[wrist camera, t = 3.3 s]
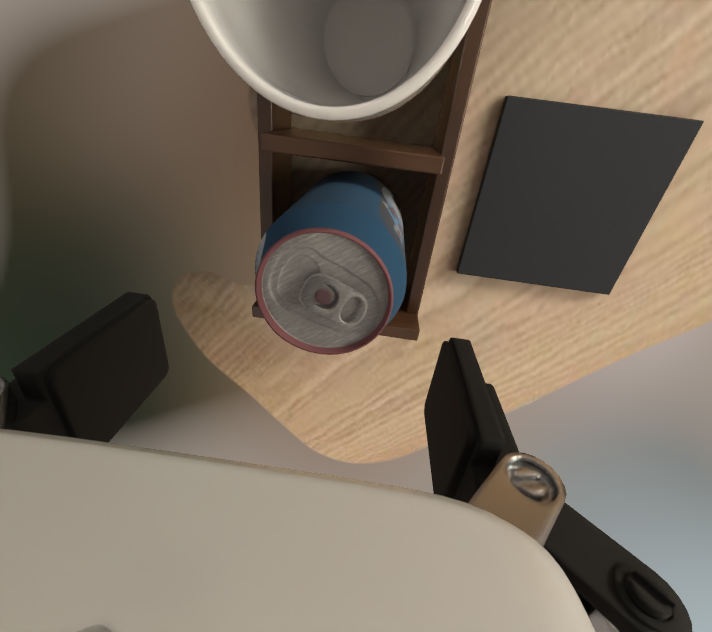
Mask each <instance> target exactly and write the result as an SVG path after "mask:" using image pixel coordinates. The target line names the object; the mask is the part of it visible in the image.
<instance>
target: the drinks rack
mask: <svg viewBox="0 0 712 632" xmlns="http://www.w3.org/2000/svg"><path fill="white" fill-rule="evenodd" d="M491 2H492V0H482V1H481V3H480V6H479V8H478V10H477V13H476V15H475V16H474V18H473V20H472V22H471V24H470V26H469V28H468V30H467V32H466V33H465V35H464V36H463V38H462V40H461V41H460V43H459V44H458V46H457V47H456V49H455V51H454V52H453V54H452V58H451V63H450V67H449V72H448V77H447V82H446V87H445V92H444V97H443V102H442V106H441V111H440V116H439V121H438V126H437V131H436V136H435V141H434V145H433V147H429V146H422V145H415V144H407V143H400V142H392V141H385V140H377V139H370V138H362V137H355V136H347V135H340V134H332V133H325V132H317V131H310V130H302V129H295V128H291V111H288V110H286V109H284V108H282V107H280V106H278V105H276V104H274V103H273V102H271V101H269V100H268V99H266V98H265V97H263V96H262V95H260V94H259V93H258V92H257V104H258V140H259V175H260V210H261V211H260V212H261V240H262V238H263V236H264V234H265V233H266V231H267V230H268V229H269V227H270V226H271V225H272V224H273V223H274V222H275V221H276V220H277V219H278V218H279V217H280V216H282V215H283V214H284V213H285V212H286V211H287V210H288V209H289V208H290V163H291V155H298V156H306V157H313V158H320V159H328V160H335V161H343V162H350V163H357V164H365V165H372V166H380V167H387V168H394V169H402V170H409V171H417V172H424V173H428V175H427V180H426V184H425V189H424V194H423V199H422V204H421V209H420V214H419V219H418V224H417V228H416V233H415V238H414V243H413V248H412V253H411V258H410V263H409V267H408V272H407V284H406V291H405V295H404V298H403V301H402V304H401V306H400V308H399V310H398V312H397V313H396V315H395V316H394V317H393V319H392V320H391V321H390V322H389V323H388V324H387V325H386V326H385V327H384V329H383V330H382V331H381V333H380V334H379V335H382V336H389V337H395V338H402V339H409V340H416V341H417V339H418V335H419V323H418V310H419V306H420V302H421V298H422V294H423V289H424V285H425V281H426V277H427V272H428V268H429V264H430V260H431V256H432V251H433V247H434V243H435V239H436V234H437V230H438V226H439V222H440V218H441V213H442V209H443V205H444V201H445V197H446V192H447V188H448V184H449V180H450V175H451V171H452V167H453V163H454V159H455V154H456V150H457V146H458V142H459V137H460V133H461V129H462V125H463V121H464V116H465V112H466V108H467V104H468V99H469V95H470V91H471V87H472V83H473V78H474V74H475V70H476V66H477V62H478V57H479V53H480V49H481V45H482V40H483V36H484V32H485V28H486V24H487V19H488V15H489V11H490V7H491ZM252 312H253V317H259V318H264V317H263V315H262V313H261V311H260V309H259V306H258V303H257V300H256V302H255V303H254V304H253V306H252Z"/></svg>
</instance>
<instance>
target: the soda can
mask: <svg viewBox="0 0 712 632" xmlns="http://www.w3.org/2000/svg"><path fill="white" fill-rule="evenodd" d="M255 274H256V279H255V293H256V299H257V303H258V306H259V309H260V311H261V313H262V315H263V317H264V319H265V320H266V322H267V323H268V325H269V326H270V327H271V328H272V330H273V331H274V332H275V333H276V334H277V335H278V336H280V337H281V338H282V339H283V340H285V341H287V342H288V343H290V344H292V345H294V346H296V347H298V348H300V349H303V350H306V351H309V352H313V353H318V354H328V355H333V354H343V353H348V352H351V351H354V350H357V349H359V348H361V347H363V346H365V345H367V344H368V343H370V342H371V341H372V340H374V339H375V338H376V337H377V336H378V335H379V334H380V333H381V331H382V330H383V329H384V327H385V326H386V325H387V324H388V323H389V322H390V321H391V320H392V319H393V317H394V316H395V315H396V313H397V312H398V310H399V308H400V306H401V304H402V301H403V298H404V295H405V291H406V284H407V273H406V260H405V246H404V233H403V220H402V213H401V209H400V206H399V204H398V202H397V200H396V198H395V196H394V195H393V193H392V192H391V191H390V189H389V188H388V187H387V186H386V185H385V184H383V183H382V182H381V181H379V180H378V179H376V178H375V177H373V176H370V175H368V174H365V173H361V172H356V171H343V172H338V173H334V174H331V175H329V176H327V177H325V178H323V179H322V180H320V181H319V182H318V183H317V184H315V185H314V186H313V187H312V188H311V189H310V190H309V191H308V192H307V193H306V194H304V195H303V196H302V197H301V198H300V199H299V200H298V201H297V202H296V203H295V204H294V205H292V206H291V207H290V208H289V209H288V210H287V211H286V212H285V213H284V214H283V215H282V216H280V217H279V218H278V219H277V220H276V221H275V222H274V223H273V224H272V225H271V226H270V227H269V229H268V230H267V231H266V233H265V234H264V236H263V238H262V240H261V242H260V244H259V247H258V251H257V255H256V260H255Z"/></svg>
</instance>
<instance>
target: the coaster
mask: <svg viewBox="0 0 712 632" xmlns="http://www.w3.org/2000/svg"><path fill="white" fill-rule="evenodd" d="M703 122H704V121H700V120H693V119H685V118H677V117H670V116H662V115H654V114H646V113H639V112H631V111H623V110H615V109H608V108H600V107H592V106H585V105H577V104H569V103H561V102H554V101H546V100H538V99H531V98H523V97H515V96H506V97H505V100H504V103H503V107H502V111H501V114H500V118H499V121H498V125H497V128H496V132H495V135H494V139H493V142H492V146H491V149H490V153H489V157H488V160H487V164H486V167H485V171H484V174H483V178H482V181H481V185H480V188H479V192H478V196H477V199H476V203H475V206H474V210H473V213H472V217H471V220H470V224H469V227H468V231H467V234H466V238H465V242H464V245H463V249H462V252H461V256H460V259H459V263H458V266H457V270H456V271H457V273H459V274H466V275H474V276H481V277H488V278H495V279H502V280H509V281H516V282H523V283H530V284H537V285H544V286H551V287H558V288H565V289H572V290H579V291H586V292H594V293H601V294H608V295H609V294H610V292H611V290H612V288H613V286H614V285H615V283H616V281H617V279H618V277H619V275H620V274H621V272H622V270H623V268H624V266H625V265H626V263H627V261H628V259H629V257H630V255H631V254H632V252H633V250H634V248H635V246H636V244H637V243H638V241H639V239H640V237H641V235H642V233H643V232H644V230H645V228H646V226H647V224H648V223H649V221H650V219H651V217H652V215H653V213H654V212H655V210H656V208H657V206H658V204H659V202H660V201H661V199H662V197H663V195H664V193H665V191H666V190H667V188H668V186H669V184H670V182H671V181H672V179H673V177H674V175H675V173H676V171H677V170H678V168H679V166H680V164H681V162H682V160H683V159H684V157H685V155H686V153H687V151H688V149H689V148H690V146H691V144H692V142H693V140H694V138H695V137H696V135H697V133H698V131H699V129H700V128H701V126H702V124H703Z"/></svg>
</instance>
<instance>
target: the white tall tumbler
mask: <svg viewBox="0 0 712 632" xmlns="http://www.w3.org/2000/svg"><path fill="white" fill-rule="evenodd" d="M481 1H482V0H190V2H191V5H192V7H193V9H194V11H195V13H196V15H197V17H198V19H199V21H200V23H201V25H202V27H203V29H204V30H205V32H206V34H207V35H208V37H209V39H210V40H211V42H212V43H213V45H214V46H215V48H216V49H217V50H218V52H219V53H220V55H221V56H222V57H223V59H224V60H225V61H226V62H227V63H228V65H229V66H230V67H231V68H232V69H233V70H234V71H235V72H236V74H238V75H239V77H241V78H242V80H243V81H244V82H246V83H247V84H248V85H249V86H250V87H251V88H253V89H254V90H255V91H256V92H258V93H259V94H260V95H262V96H263V97H265V98H266V99H268V100H269V101H271V102H273V103H274V104H276V105H278V106H280V107H282V108H284V109H286V110H288V111H291V112H293V113H296V114H299V115H302V116H305V117H310V118H315V119H320V120H325V121H331V122H359V121H366V120H370V119H374V118H378V117H380V116H383V115H386V114H388V113H390V112H392V111H394V110H396V109H398V108H400V107H401V106H403V105H404V104H406V103H408V102H409V101H410V100H411V99H413V98H414V97H415V96H417V95H418V94H419V93H420V92H421V91H422V90H423V89H424V88H425V87H426V86H427V85H428V84H429V83H430V82H431V81H432V80H433V79H434V78H435V77H436V75H437V74H438V73H439V72H440V71H441V69H442V68H443V67H444V65H445V64H446V63H447V61H448V60H449V58H450V57H451V55H452V54H453V52H454V51H455V49H456V47H457V46H458V44H459V43H460V41H461V40H462V38H463V36H464V35H465V33H466V32H467V30H468V28H469V26H470V24H471V22H472V20H473V18H474V16H475V15H476V13H477V10H478V8H479V6H480V3H481Z"/></svg>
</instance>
